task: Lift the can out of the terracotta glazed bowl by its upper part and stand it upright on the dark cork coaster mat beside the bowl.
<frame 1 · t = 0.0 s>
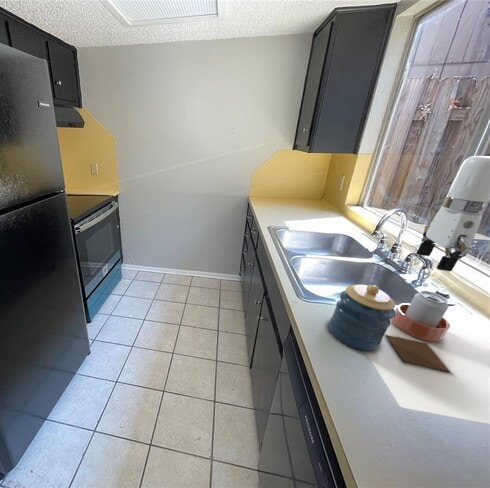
hand: (432, 262, 75), 22 cm above the worktop, tool pointing down, fingers open, 9 cm apart
can: (415, 327, 82), resting on bowl
canister: (352, 335, 78), on the worktop
mat: (415, 352, 72), on the worktop
bowl: (415, 328, 82), on the worktop
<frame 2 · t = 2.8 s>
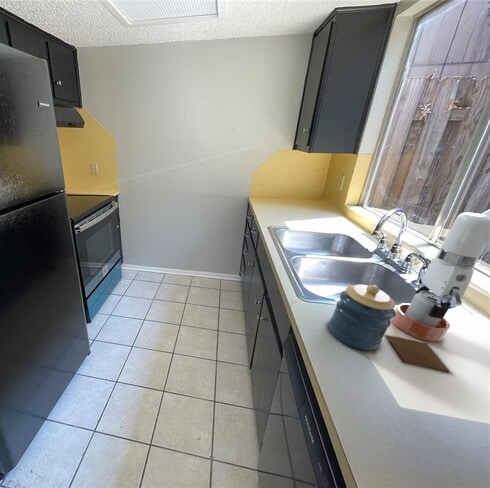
hand: (426, 308, 79), 8 cm above the worktop, tool pointing down, fingers closed on can, 7 cm apart
can: (415, 327, 82), resting on bowl, touching gripper
everything else where it was.
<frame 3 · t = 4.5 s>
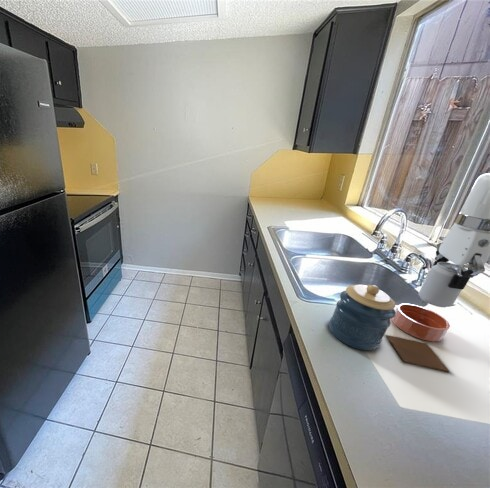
hand: (445, 280, 74), 18 cm above the worktop, tool pointing down, fingers closed on can, 7 cm apart
can: (433, 301, 77), point 11 cm above the worktop, touching gripper
everything else where it was.
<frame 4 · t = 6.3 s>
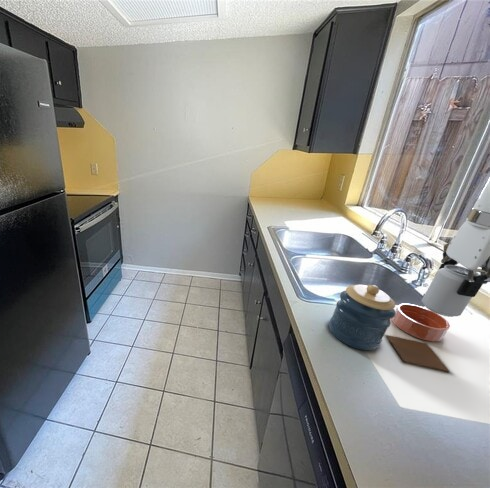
hand: (453, 285, 65), 22 cm above the worktop, tool pointing down, fingers closed on can, 7 cm apart
can: (438, 310, 68), point 14 cm above the worktop, touching gripper
everything else where it was.
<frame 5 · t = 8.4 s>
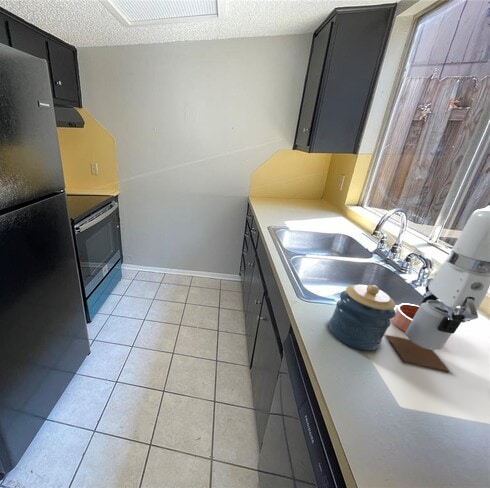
hand: (434, 320, 68), 12 cm above the worktop, tool pointing down, fingers closed on can, 7 cm apart
can: (421, 342, 71), point 4 cm above the worktop, touching gripper
everything else where it was.
when the fingers open (8 cm above the worktop, at t = 10.0 s): can stays where it is, resting on mat.
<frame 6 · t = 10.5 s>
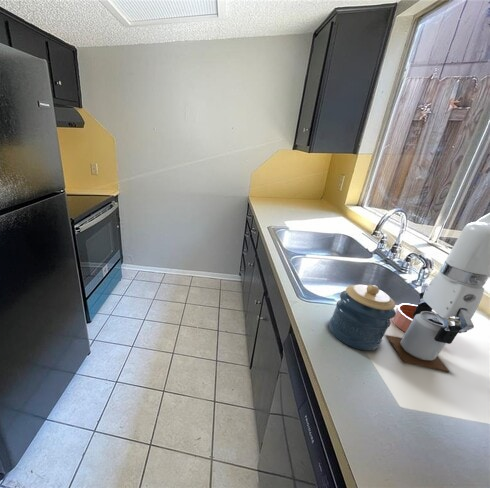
hand: (429, 328, 69), 9 cm above the worktop, tool pointing down, fingers open, 9 cm apart
can: (415, 352, 72), resting on mat
everything else where it was.
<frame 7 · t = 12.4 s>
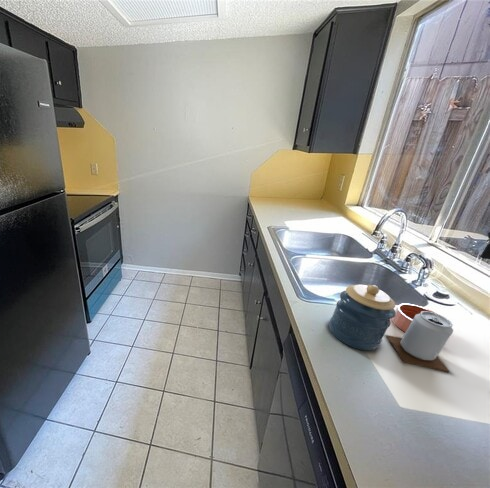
nothing on the worktop moved.
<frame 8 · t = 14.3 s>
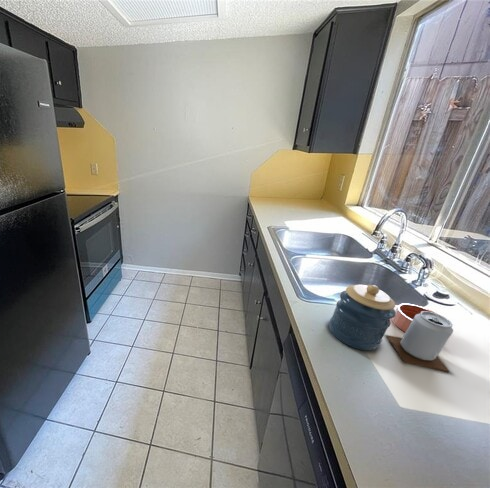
nothing on the worktop moved.
at the end: can inside the target area on the mat (0.1 cm from its centre), point 0.2 cm above the mat's base; can tilted 0°; can touching mat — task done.
